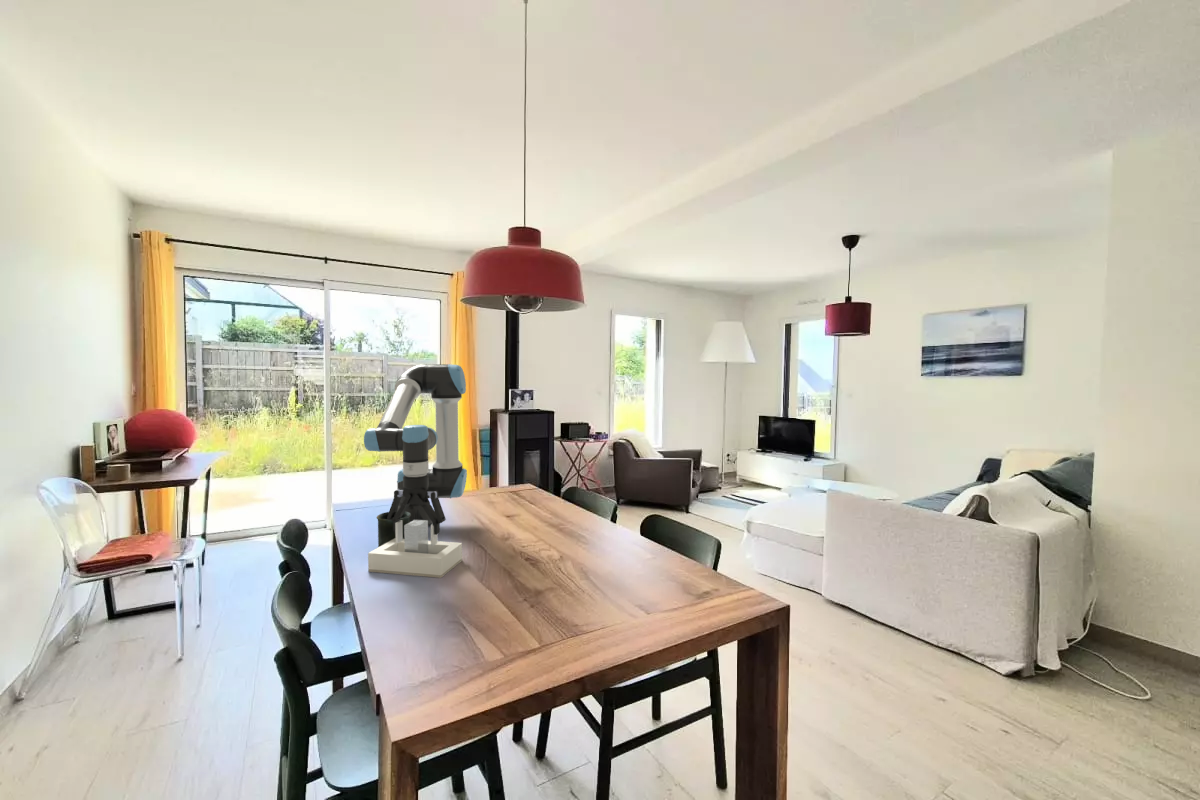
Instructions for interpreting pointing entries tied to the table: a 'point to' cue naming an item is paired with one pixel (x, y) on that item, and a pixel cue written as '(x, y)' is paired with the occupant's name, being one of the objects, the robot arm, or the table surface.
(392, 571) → the well block
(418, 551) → the grey l-shaped block
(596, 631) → the table surface
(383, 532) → the mug
